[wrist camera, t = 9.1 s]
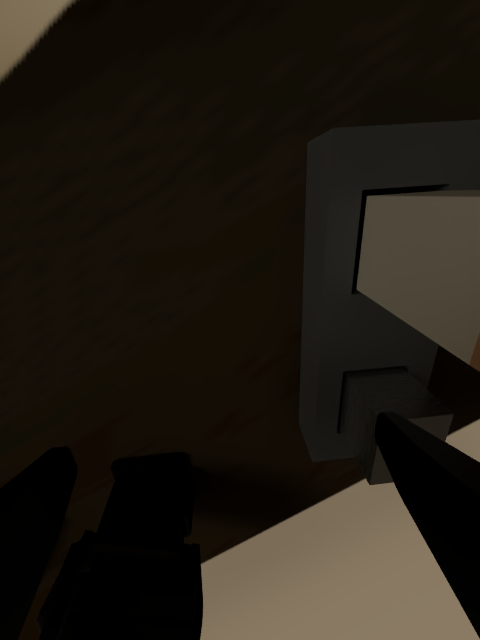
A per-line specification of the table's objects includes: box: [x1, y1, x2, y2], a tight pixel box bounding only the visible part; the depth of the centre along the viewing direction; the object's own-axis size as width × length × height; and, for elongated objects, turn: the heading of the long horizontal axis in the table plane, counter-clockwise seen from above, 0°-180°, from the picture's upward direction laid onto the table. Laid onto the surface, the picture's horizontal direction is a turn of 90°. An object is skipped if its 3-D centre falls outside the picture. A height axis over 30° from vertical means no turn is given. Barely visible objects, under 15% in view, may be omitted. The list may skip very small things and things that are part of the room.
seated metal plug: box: [337, 366, 454, 485], centre depth 20 cm, size 4×5×8 cm
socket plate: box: [299, 120, 480, 462], centre depth 20 cm, size 8×22×4 cm, turn 4°
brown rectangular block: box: [357, 190, 480, 372], centre depth 11 cm, size 4×5×9 cm
